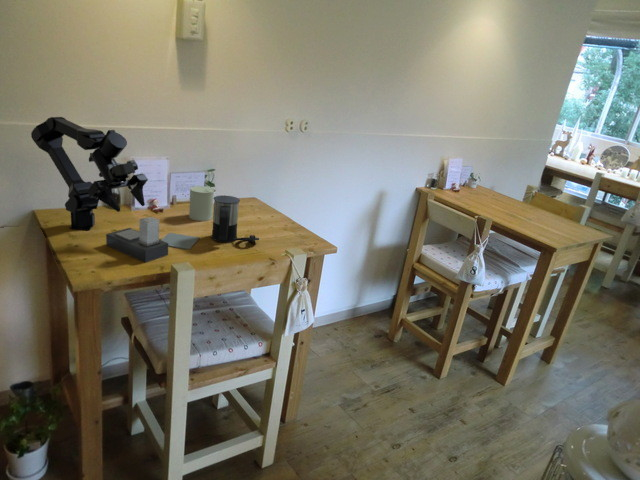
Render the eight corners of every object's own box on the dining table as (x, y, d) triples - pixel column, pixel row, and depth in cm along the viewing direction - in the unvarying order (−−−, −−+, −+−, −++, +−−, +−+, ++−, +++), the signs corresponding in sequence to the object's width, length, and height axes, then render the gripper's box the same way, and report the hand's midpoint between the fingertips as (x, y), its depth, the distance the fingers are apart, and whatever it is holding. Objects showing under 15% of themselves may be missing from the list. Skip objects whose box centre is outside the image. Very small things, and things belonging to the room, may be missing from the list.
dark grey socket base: (106, 245, 156) (106, 232, 154) (129, 238, 164) (129, 226, 162) (145, 262, 148) (145, 248, 147) (168, 254, 156) (168, 241, 154)
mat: (156, 244, 162) (156, 243, 162) (169, 233, 172) (169, 232, 172) (189, 249, 162) (189, 248, 162) (199, 238, 172) (199, 237, 172)
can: (200, 222, 187) (202, 192, 183) (183, 216, 191) (184, 186, 187) (217, 218, 194) (219, 189, 190) (200, 211, 199) (202, 183, 194)
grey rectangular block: (139, 249, 152) (139, 219, 148) (150, 246, 155) (151, 216, 152) (147, 253, 150) (147, 222, 147) (158, 249, 154) (159, 219, 150)
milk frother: (208, 233, 178) (211, 194, 172) (250, 232, 184) (254, 195, 179) (217, 248, 166) (219, 207, 160) (261, 247, 172) (265, 207, 167)
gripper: (92, 154, 141) (118, 200, 140) (144, 149, 156) (167, 190, 156) (76, 175, 147) (101, 219, 146) (127, 167, 163) (150, 207, 162)
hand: (131, 208), depth 152 cm, fingers open, 9 cm apart
